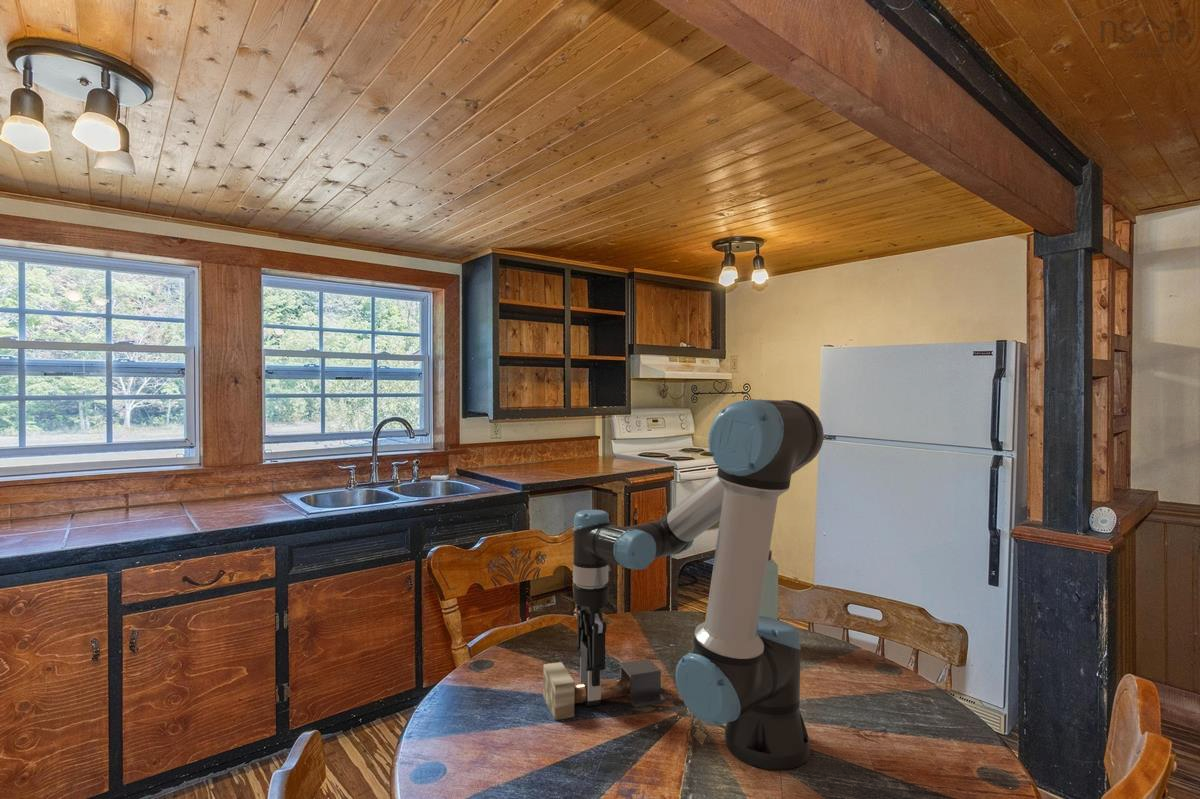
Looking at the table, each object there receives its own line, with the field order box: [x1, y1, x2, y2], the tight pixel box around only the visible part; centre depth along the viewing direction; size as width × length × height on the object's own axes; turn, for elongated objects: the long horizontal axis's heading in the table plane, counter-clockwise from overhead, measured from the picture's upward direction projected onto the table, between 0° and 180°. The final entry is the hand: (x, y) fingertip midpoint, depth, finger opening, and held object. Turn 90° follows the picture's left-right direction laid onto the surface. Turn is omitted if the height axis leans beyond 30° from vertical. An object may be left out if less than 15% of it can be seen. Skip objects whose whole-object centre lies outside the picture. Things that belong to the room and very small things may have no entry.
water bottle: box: [759, 549, 779, 620], centre depth 157 cm, size 10×10×25 cm
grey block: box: [619, 658, 666, 709], centre depth 131 cm, size 11×7×6 cm, turn 19°
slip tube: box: [574, 640, 630, 707], centre depth 128 cm, size 5×19×12 cm, turn 109°
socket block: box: [542, 661, 575, 721], centre depth 125 cm, size 10×4×7 cm, turn 19°
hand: (590, 693), depth 127 cm, fingers closed on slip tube, 5 cm apart
